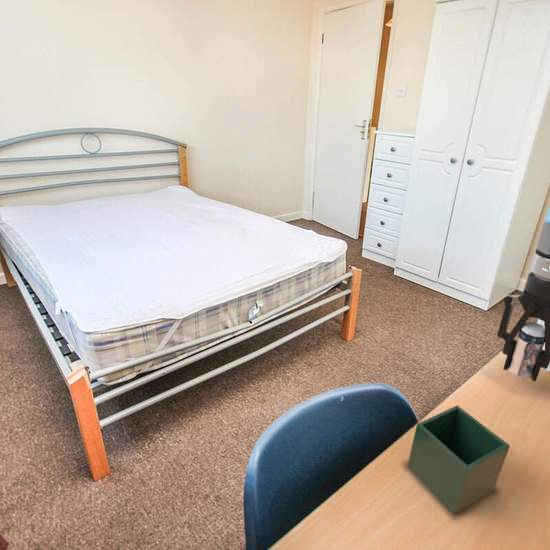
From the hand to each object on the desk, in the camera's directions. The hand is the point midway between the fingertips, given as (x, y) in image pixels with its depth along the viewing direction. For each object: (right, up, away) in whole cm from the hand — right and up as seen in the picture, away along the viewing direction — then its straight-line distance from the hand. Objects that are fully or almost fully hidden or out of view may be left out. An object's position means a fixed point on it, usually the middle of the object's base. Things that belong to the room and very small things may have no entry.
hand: (520, 372), depth 85 cm
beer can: (0, 0, 0) cm, 1 cm away
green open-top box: (-25, -14, -19) cm, 34 cm away
